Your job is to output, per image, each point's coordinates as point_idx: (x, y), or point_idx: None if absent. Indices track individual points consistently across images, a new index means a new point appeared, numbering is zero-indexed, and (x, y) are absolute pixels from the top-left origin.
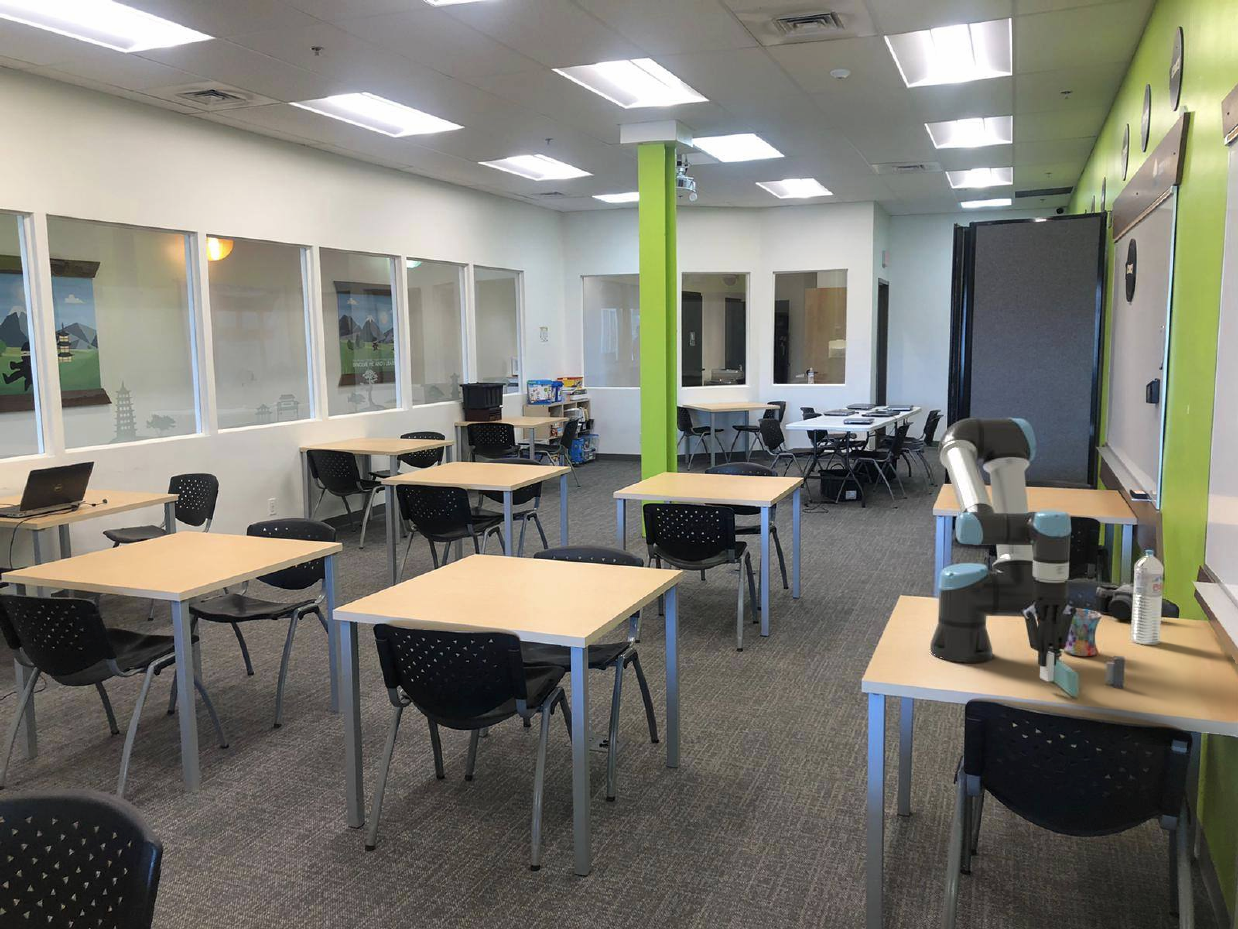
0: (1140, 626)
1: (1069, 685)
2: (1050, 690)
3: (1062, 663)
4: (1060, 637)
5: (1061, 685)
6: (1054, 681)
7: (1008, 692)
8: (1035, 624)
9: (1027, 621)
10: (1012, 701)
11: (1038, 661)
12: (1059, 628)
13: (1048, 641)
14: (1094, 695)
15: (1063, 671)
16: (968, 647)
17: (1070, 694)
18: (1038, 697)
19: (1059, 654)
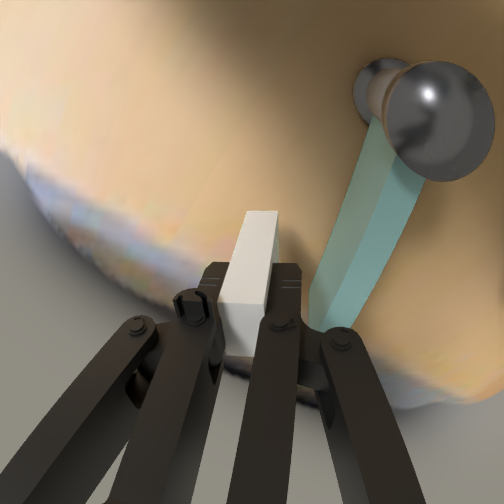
0: None
1: (314, 299)
2: (295, 202)
3: (388, 236)
4: (331, 429)
5: (336, 225)
6: (360, 155)
7: (130, 187)
8: (73, 501)
9: (19, 481)
10: (117, 254)
11: (203, 279)
12: (354, 475)
13: (209, 419)
14: (404, 277)
15: (338, 275)
16: None
17: (310, 287)
18: (208, 247)
19: (444, 178)
